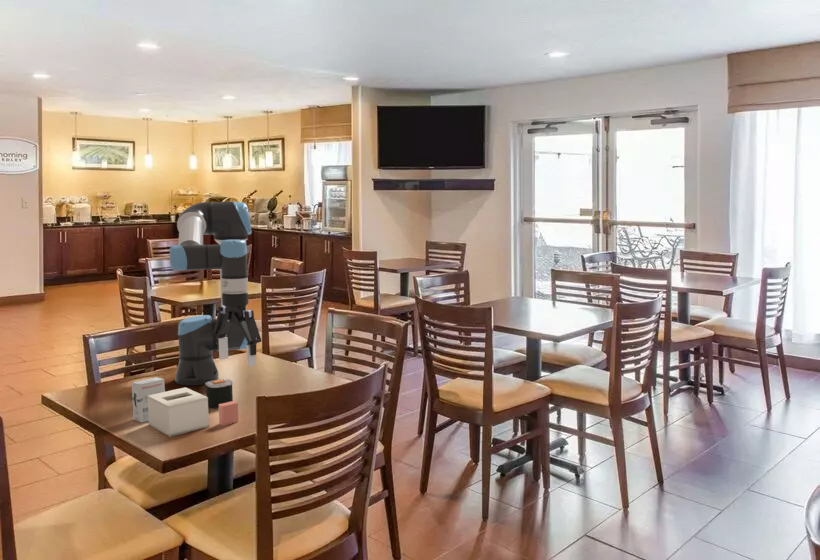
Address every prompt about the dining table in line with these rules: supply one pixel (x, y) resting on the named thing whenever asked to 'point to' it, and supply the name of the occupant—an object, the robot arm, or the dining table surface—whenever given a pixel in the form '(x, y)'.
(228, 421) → the pink flat block
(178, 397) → the tissue box
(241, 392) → the dining table surface
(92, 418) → the dining table surface
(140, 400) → the ink box
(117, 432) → the dining table surface
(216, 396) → the sushi
